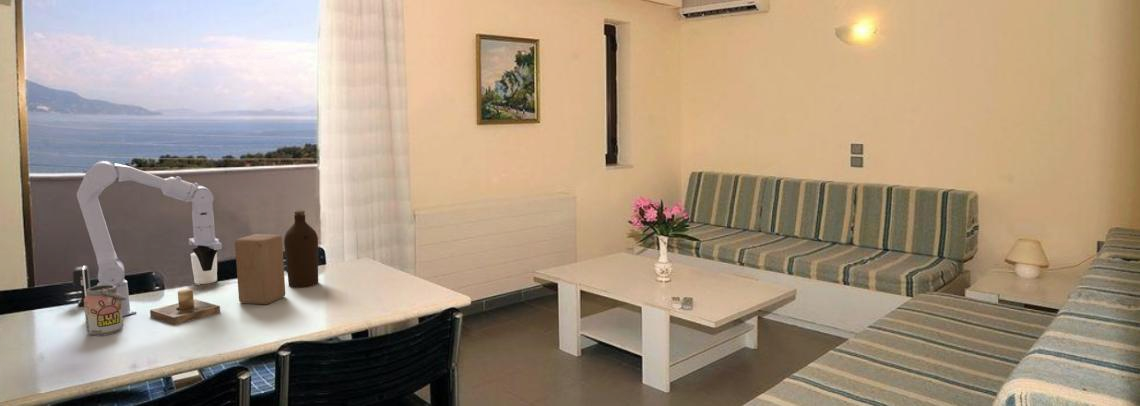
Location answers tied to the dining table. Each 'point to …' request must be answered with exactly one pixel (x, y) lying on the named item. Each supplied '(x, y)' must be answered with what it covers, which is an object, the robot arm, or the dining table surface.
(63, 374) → the dining table surface
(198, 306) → the board
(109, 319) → the beverage can
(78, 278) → the battery charger
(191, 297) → the peg
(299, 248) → the olive oil
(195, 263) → the white cup
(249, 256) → the wooden block
